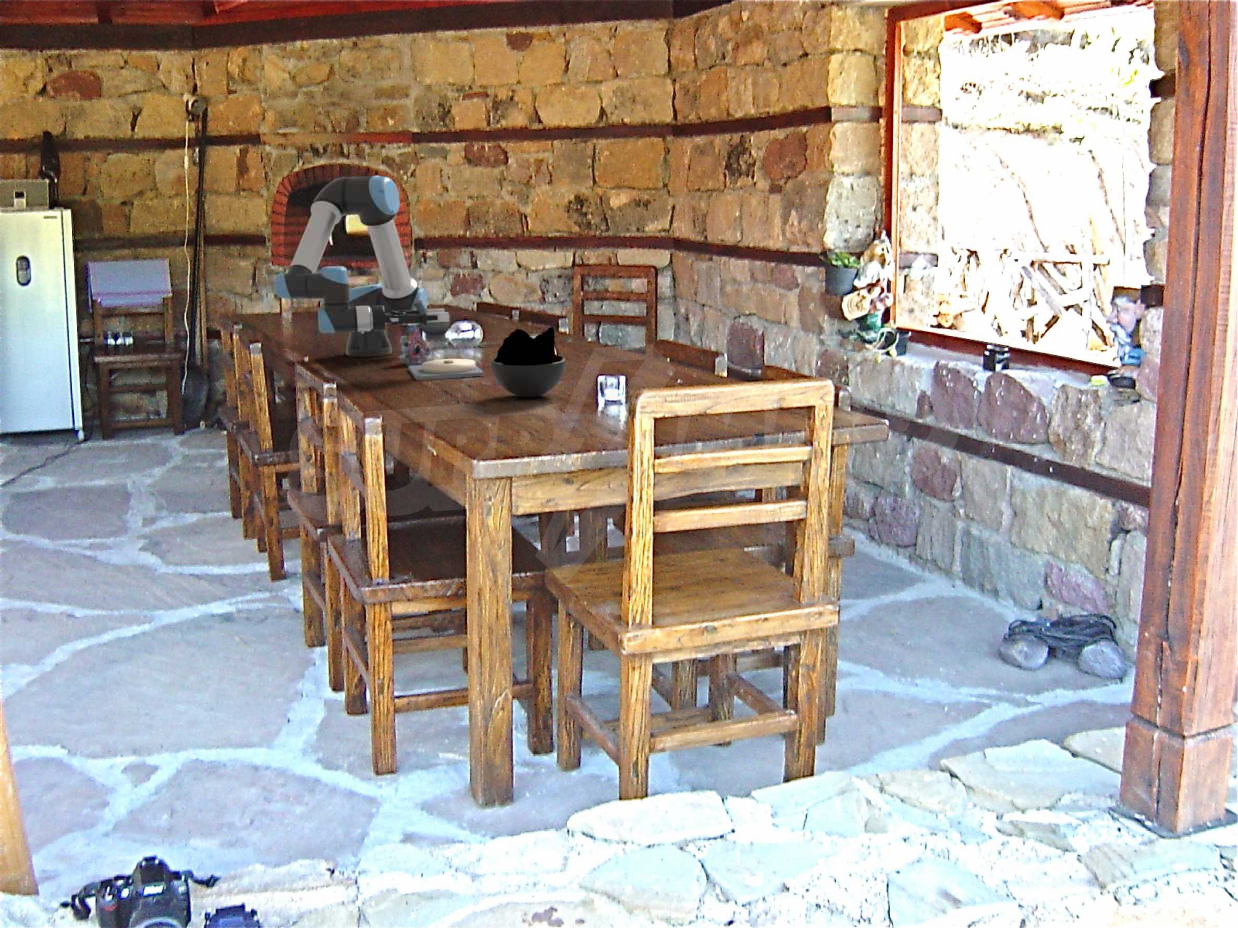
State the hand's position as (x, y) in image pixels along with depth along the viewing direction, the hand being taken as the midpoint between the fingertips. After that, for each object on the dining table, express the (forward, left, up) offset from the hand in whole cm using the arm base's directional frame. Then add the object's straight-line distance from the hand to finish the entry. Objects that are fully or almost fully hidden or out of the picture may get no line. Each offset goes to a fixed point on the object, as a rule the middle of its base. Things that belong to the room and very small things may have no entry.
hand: (446, 314), depth 396 cm
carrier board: (-2, -1, -18) cm, 18 cm away
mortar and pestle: (0, -4, -7) cm, 8 cm away
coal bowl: (+49, +15, -18) cm, 55 cm away
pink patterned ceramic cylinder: (-24, -7, -18) cm, 31 cm away
